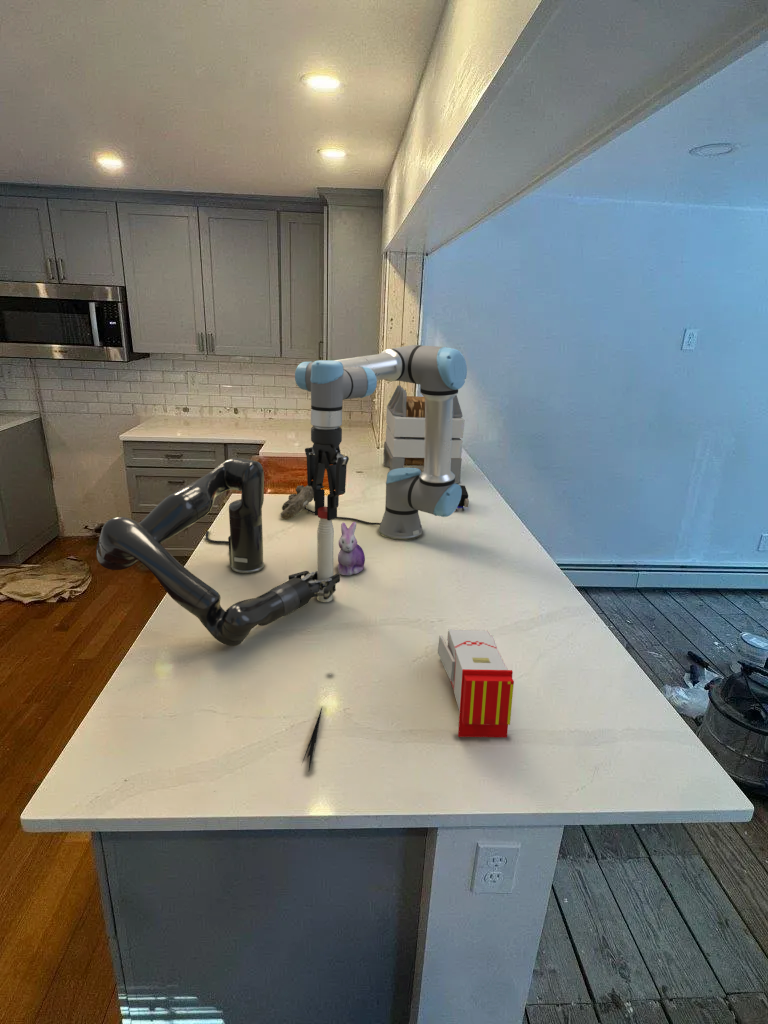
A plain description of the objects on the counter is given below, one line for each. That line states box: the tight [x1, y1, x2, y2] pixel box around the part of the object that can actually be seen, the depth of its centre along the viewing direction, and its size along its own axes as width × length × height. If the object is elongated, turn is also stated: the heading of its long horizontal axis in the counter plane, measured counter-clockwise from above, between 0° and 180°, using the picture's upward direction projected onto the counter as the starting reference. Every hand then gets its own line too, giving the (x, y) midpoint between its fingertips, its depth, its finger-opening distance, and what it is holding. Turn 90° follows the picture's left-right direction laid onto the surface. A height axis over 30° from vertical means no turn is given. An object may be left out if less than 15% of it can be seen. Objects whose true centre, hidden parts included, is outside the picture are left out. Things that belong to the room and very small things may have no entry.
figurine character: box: [455, 484, 470, 512], centre depth 229 cm, size 7×8×15 cm
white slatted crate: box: [383, 384, 465, 484], centre depth 268 cm, size 34×33×41 cm
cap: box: [317, 506, 327, 519], centre depth 145 cm, size 4×4×2 cm
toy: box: [437, 628, 515, 738], centre depth 117 cm, size 12×13×30 cm
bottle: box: [316, 518, 335, 603], centre depth 149 cm, size 4×4×25 cm
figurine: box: [337, 521, 366, 576], centre depth 168 cm, size 9×10×15 cm
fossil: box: [280, 484, 314, 520], centre depth 215 cm, size 22×10×15 cm
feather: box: [301, 673, 332, 771], centre depth 108 cm, size 2×28×2 cm
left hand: (331, 574), depth 154 cm, fingers closed on bottle, 4 cm apart
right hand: (325, 516), depth 146 cm, fingers closed on cap, 4 cm apart
